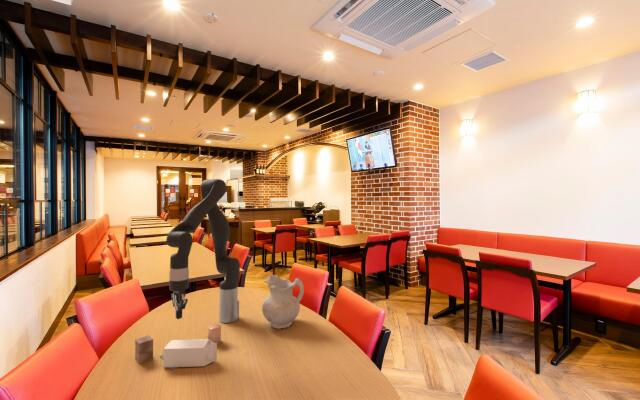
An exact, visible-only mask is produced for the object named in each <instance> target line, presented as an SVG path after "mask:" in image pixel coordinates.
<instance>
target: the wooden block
mask: <svg viewBox="0 0 640 400" xmlns="http://www.w3.org/2000/svg"><path fill="white" fill-rule="evenodd" d="M134 342H135V344H134V346H135V347H134V351H135V352H134V354H135V355H134V358H135V361H136V363H138V365H140V364H143V363H146V362H149V361H152V360H153V359H154V339H153V338H152V336H151V335H149V334H148V335H146V336H142V337H138V338H135V341H134Z"/></svg>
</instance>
